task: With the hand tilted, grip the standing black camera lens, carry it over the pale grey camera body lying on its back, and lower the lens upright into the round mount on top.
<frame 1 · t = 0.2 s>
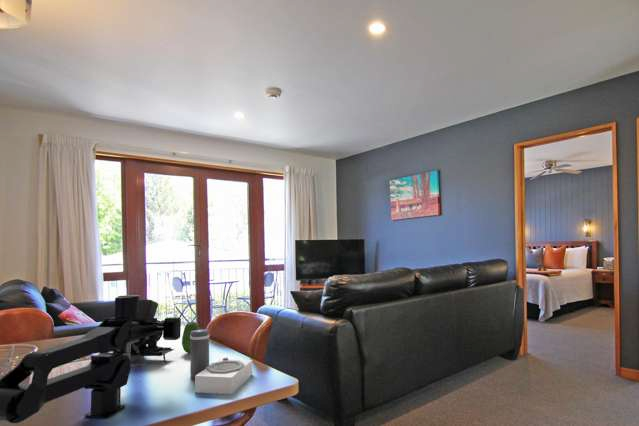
hand: (167, 323, 120), 17 cm above the table, fingers open, 9 cm apart
vintage camera: (148, 361, 136), on the table
lens: (199, 376, 119), on the table
camera body: (225, 382, 113), on the table
avocado: (192, 354, 145), on the table
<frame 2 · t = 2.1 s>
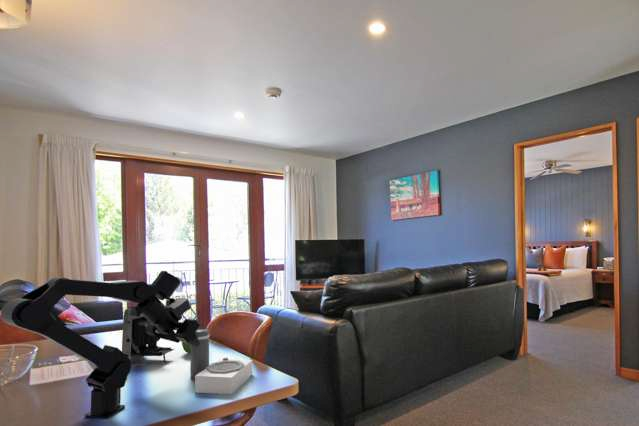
hand: (188, 343, 116), 11 cm above the table, fingers open, 9 cm apart
nothing on the table moved.
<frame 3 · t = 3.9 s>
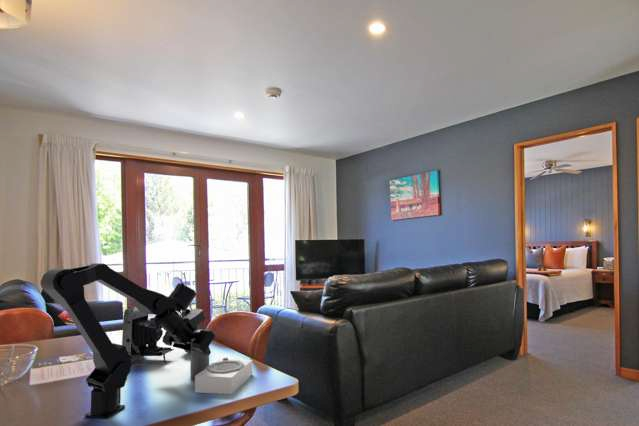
hand: (203, 352, 120), 7 cm above the table, fingers closed on lens, 6 cm apart
lens: (199, 376, 119), on the table, touching gripper
everything else where it was.
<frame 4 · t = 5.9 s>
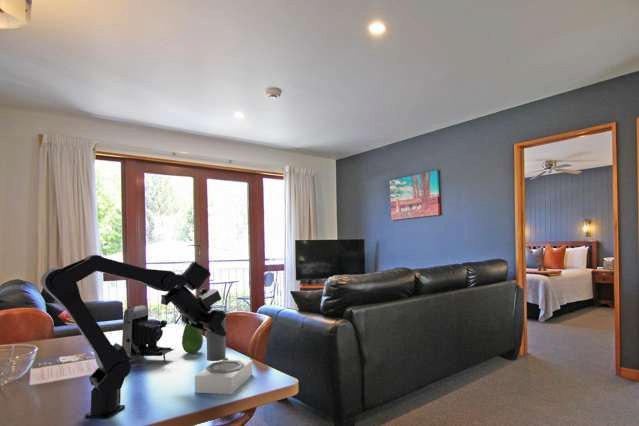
hand: (220, 333, 118), 14 cm above the table, fingers closed on lens, 6 cm apart
lens: (216, 358, 116), point 6 cm above the table, touching gripper
everything else where it was.
when the fingers open (9 cm above the table, at t = 7.8 s): lens stays where it is, resting on camera body.
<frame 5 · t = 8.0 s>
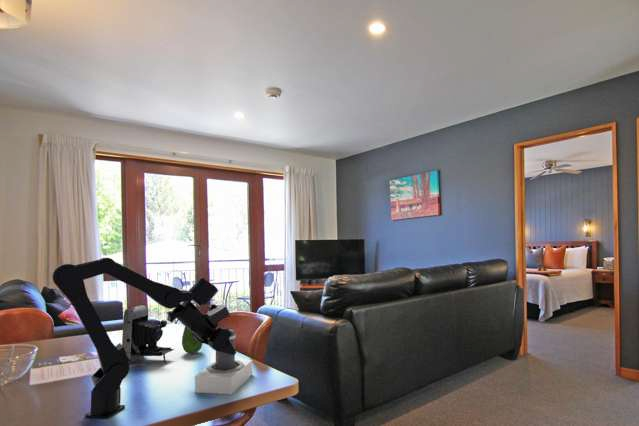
hand: (229, 351, 114), 9 cm above the table, fingers open, 8 cm apart
lens: (225, 379, 113), point 1 cm above the table, touching camera body
everything else where it was.
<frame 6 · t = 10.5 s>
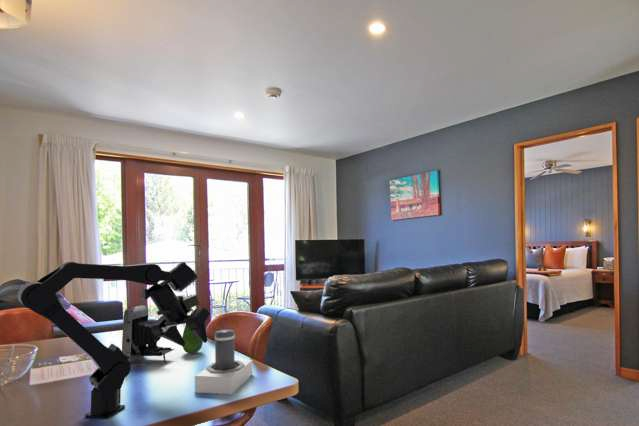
hand: (194, 343, 111), 12 cm above the table, fingers open, 9 cm apart
nothing on the table moved.
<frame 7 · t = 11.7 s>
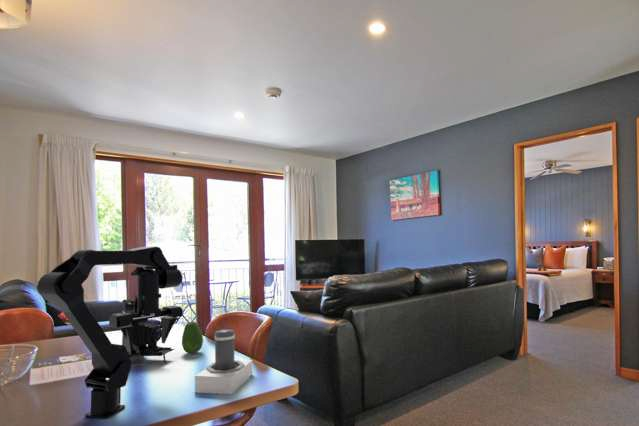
hand: (147, 346, 107), 13 cm above the table, fingers open, 9 cm apart
nothing on the table moved.
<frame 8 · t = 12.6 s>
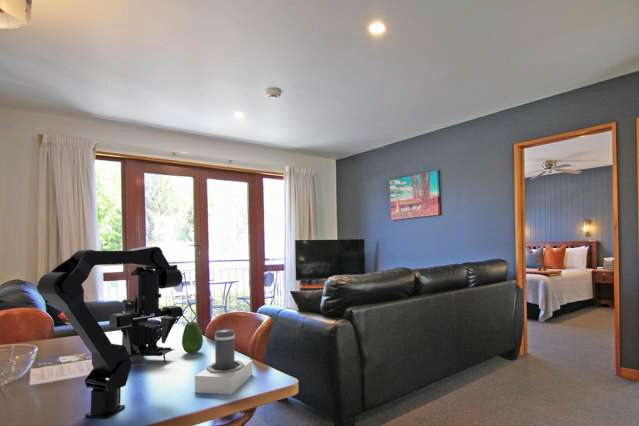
hand: (147, 346, 107), 13 cm above the table, fingers open, 9 cm apart
nothing on the table moved.
at the end: lens 0.1 cm off-centre on the camera body, point 1.0 cm above the camera body's base; lens tilted 1°; the gripper is holding nothing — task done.
